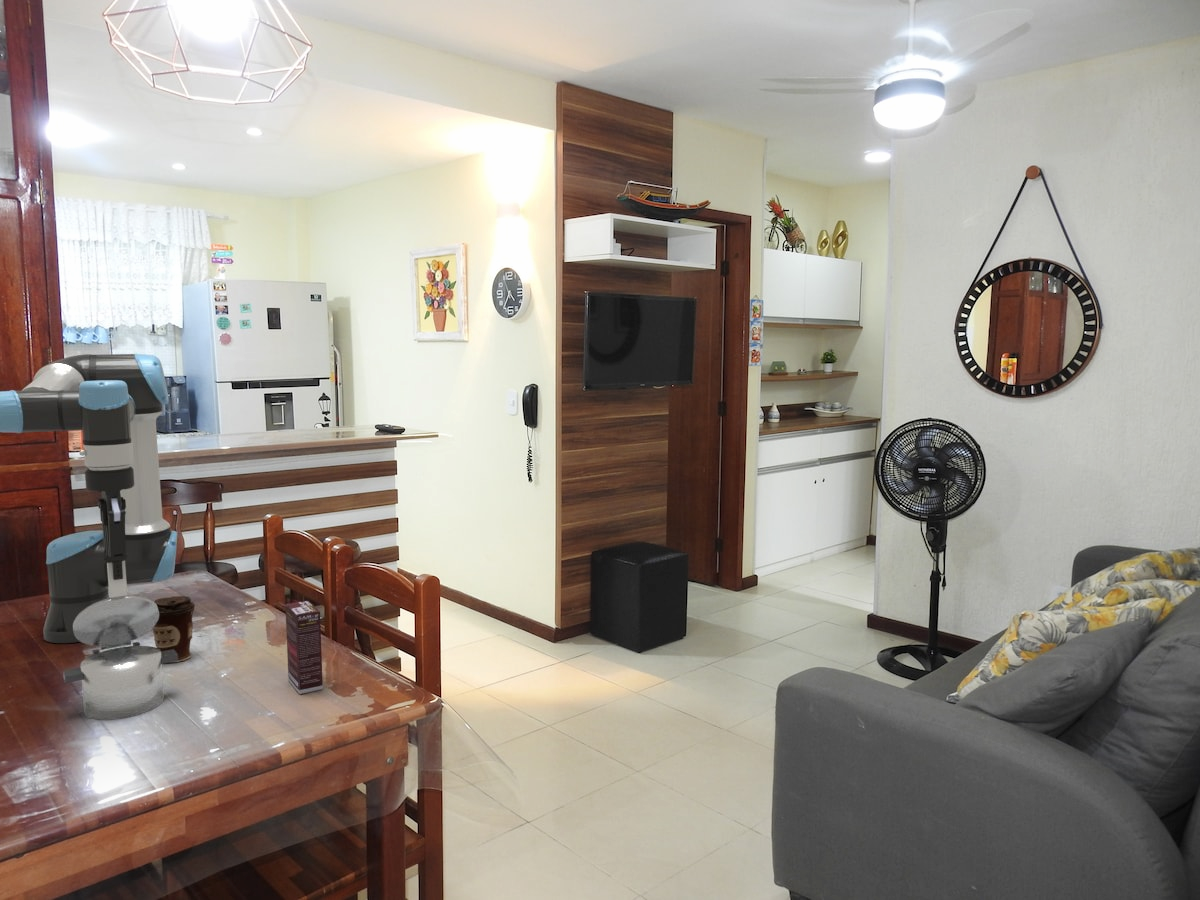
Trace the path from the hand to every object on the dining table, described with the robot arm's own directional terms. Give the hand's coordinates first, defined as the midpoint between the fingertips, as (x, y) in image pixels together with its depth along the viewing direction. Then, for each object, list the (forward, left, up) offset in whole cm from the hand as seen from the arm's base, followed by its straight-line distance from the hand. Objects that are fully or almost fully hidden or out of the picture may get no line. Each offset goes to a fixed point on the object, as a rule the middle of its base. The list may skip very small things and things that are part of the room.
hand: (118, 595), depth 152 cm
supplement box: (+9, +30, -22) cm, 38 cm away
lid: (-5, 0, -7) cm, 8 cm away
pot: (-2, 0, -22) cm, 22 cm away
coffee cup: (-22, +12, -22) cm, 33 cm away
